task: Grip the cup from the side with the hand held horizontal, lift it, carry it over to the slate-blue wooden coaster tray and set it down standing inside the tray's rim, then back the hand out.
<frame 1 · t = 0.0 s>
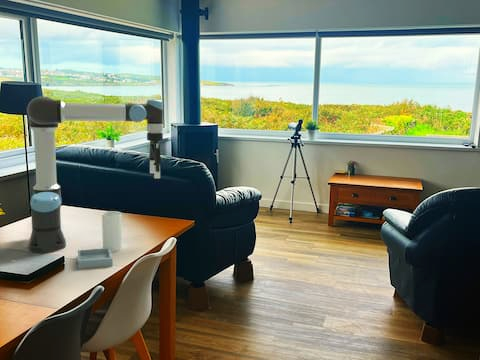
hand: (154, 175, 227), 28 cm above the table, tool pointing down, fingers open, 13 cm apart
dock tray: (94, 261, 189), on the table
cup: (112, 249, 204), on the table
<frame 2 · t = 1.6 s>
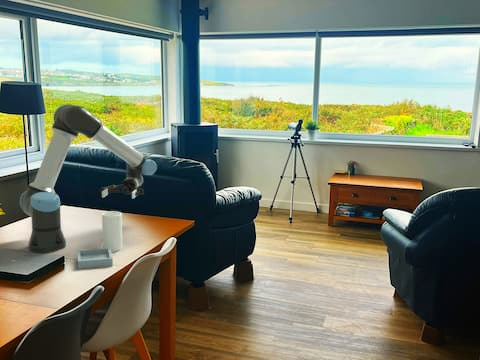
hand: (117, 195, 209), 22 cm above the table, tool horizontal, fingers open, 13 cm apart
nothing on the table moved.
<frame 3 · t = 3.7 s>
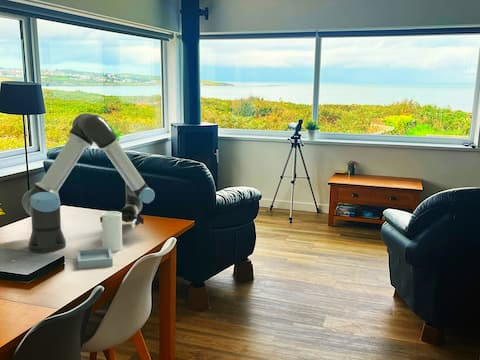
hand: (117, 225, 209), 9 cm above the table, tool horizontal, fingers open, 13 cm apart
nothing on the table moved.
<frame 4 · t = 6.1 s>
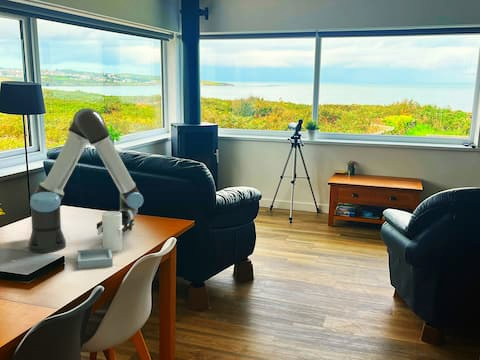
hand: (109, 232, 198), 9 cm above the table, tool horizontal, fingers closed on cup, 8 cm apart
cup: (112, 249, 204), on the table, touching gripper
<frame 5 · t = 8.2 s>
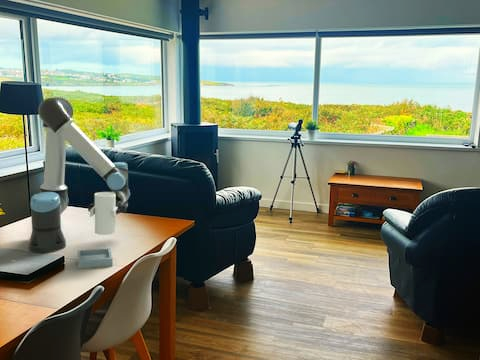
hand: (102, 213, 186), 20 cm above the table, tool horizontal, fingers closed on cup, 8 cm apart
cup: (105, 232, 192), point 11 cm above the table, touching gripper
when the fingers open (12 cm above the table, at t = 10.6 s): cup drops 1 cm, resting on dock tray.
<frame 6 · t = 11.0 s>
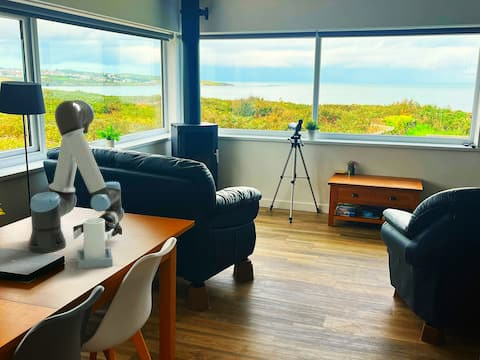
hand: (91, 236, 183), 12 cm above the table, tool horizontal, fingers open, 13 cm apart
cup: (94, 258, 188), point 1 cm above the table, touching dock tray
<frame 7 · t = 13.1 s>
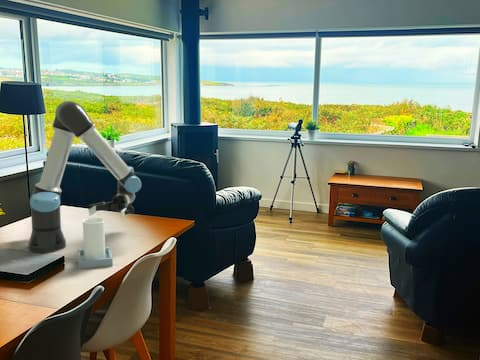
hand: (105, 213, 198), 17 cm above the table, tool horizontal, fingers open, 13 cm apart
nothing on the table moved.
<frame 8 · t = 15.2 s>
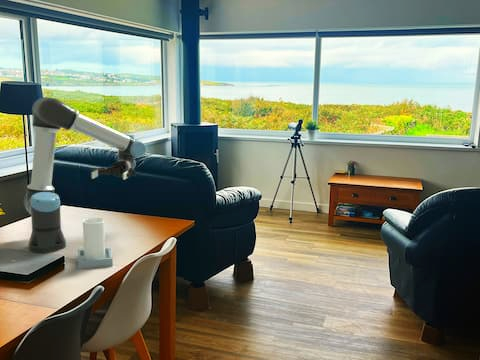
hand: (108, 176, 200), 32 cm above the table, tool horizontal, fingers open, 13 cm apart
nothing on the table moved.
at the end: cup inside the target area on the dock tray (0.0 cm from its centre), point 1.0 cm above the dock tray's base; cup tilted 0°; the gripper is holding nothing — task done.
